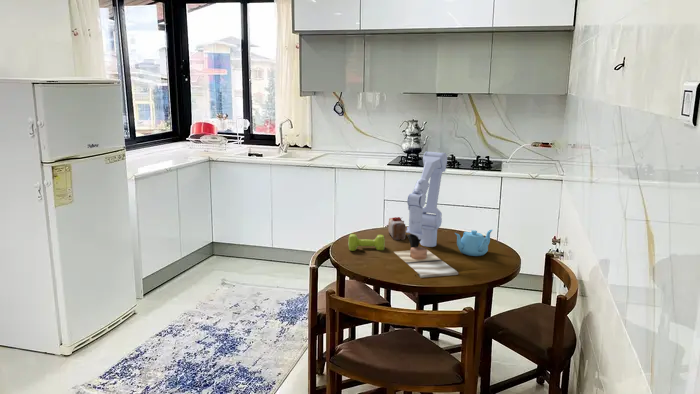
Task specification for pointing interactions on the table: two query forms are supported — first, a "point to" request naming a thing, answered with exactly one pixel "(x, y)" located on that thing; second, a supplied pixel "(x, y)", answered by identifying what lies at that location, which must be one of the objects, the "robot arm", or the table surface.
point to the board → (427, 265)
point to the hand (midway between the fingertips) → (414, 250)
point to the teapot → (473, 243)
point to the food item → (397, 228)
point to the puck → (418, 253)
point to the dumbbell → (366, 242)
